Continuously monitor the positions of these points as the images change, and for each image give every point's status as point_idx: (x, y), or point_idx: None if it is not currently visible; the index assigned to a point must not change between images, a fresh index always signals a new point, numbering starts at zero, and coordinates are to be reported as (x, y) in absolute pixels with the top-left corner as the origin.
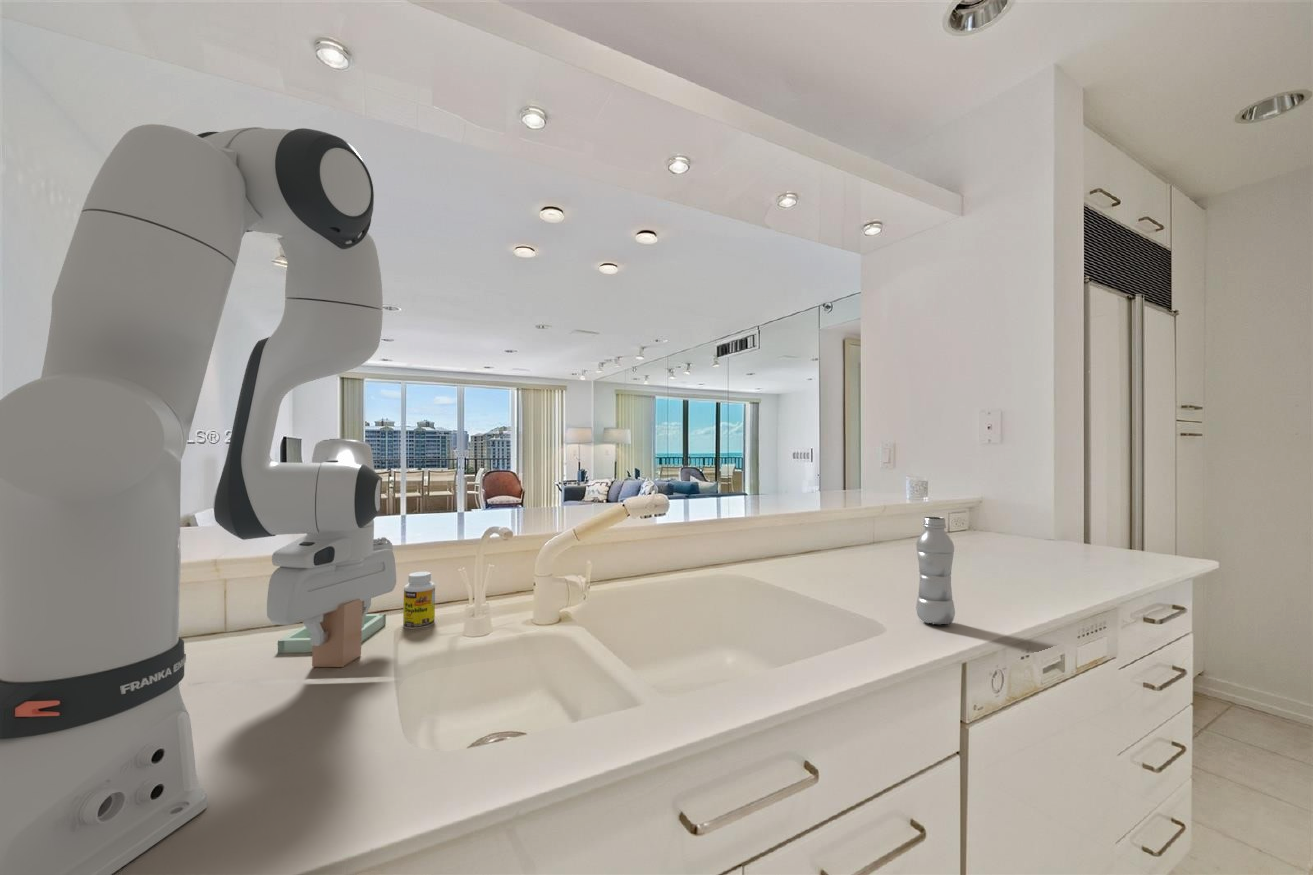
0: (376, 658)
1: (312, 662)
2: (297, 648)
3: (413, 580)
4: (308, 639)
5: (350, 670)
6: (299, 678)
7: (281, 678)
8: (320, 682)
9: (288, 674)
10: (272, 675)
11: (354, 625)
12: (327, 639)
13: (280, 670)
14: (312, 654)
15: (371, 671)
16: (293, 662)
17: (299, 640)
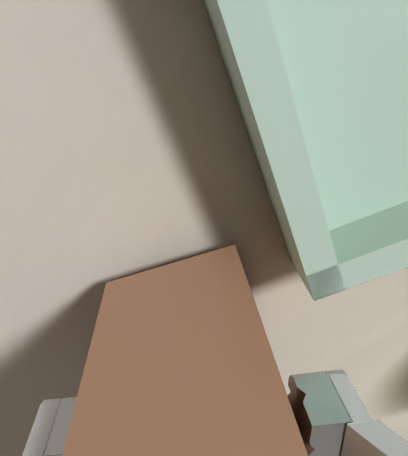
0: (282, 362)
1: (105, 292)
2: (220, 30)
3: None
4: (256, 95)
5: None
6: (48, 281)
7: (11, 220)
8: (64, 364)
9: (49, 209)
10: (6, 153)
11: None
12: None
13: (57, 133)
14: (97, 316)
15: None
16: (148, 98)
17: (230, 44)
